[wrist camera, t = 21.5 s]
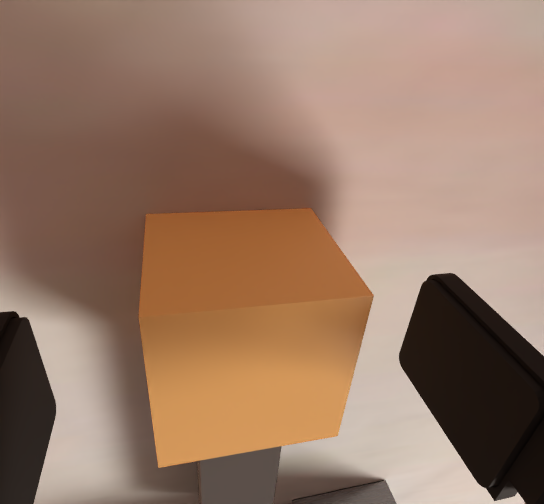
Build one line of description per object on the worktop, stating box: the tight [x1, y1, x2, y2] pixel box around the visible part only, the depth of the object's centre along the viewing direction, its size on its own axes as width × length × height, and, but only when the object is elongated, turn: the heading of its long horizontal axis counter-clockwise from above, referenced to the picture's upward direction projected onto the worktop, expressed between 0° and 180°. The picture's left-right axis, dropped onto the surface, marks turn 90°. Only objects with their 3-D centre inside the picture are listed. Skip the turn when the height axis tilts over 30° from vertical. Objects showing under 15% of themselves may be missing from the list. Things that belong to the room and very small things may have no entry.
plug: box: [139, 208, 374, 504], centre depth 12 cm, size 14×4×4 cm, turn 175°
